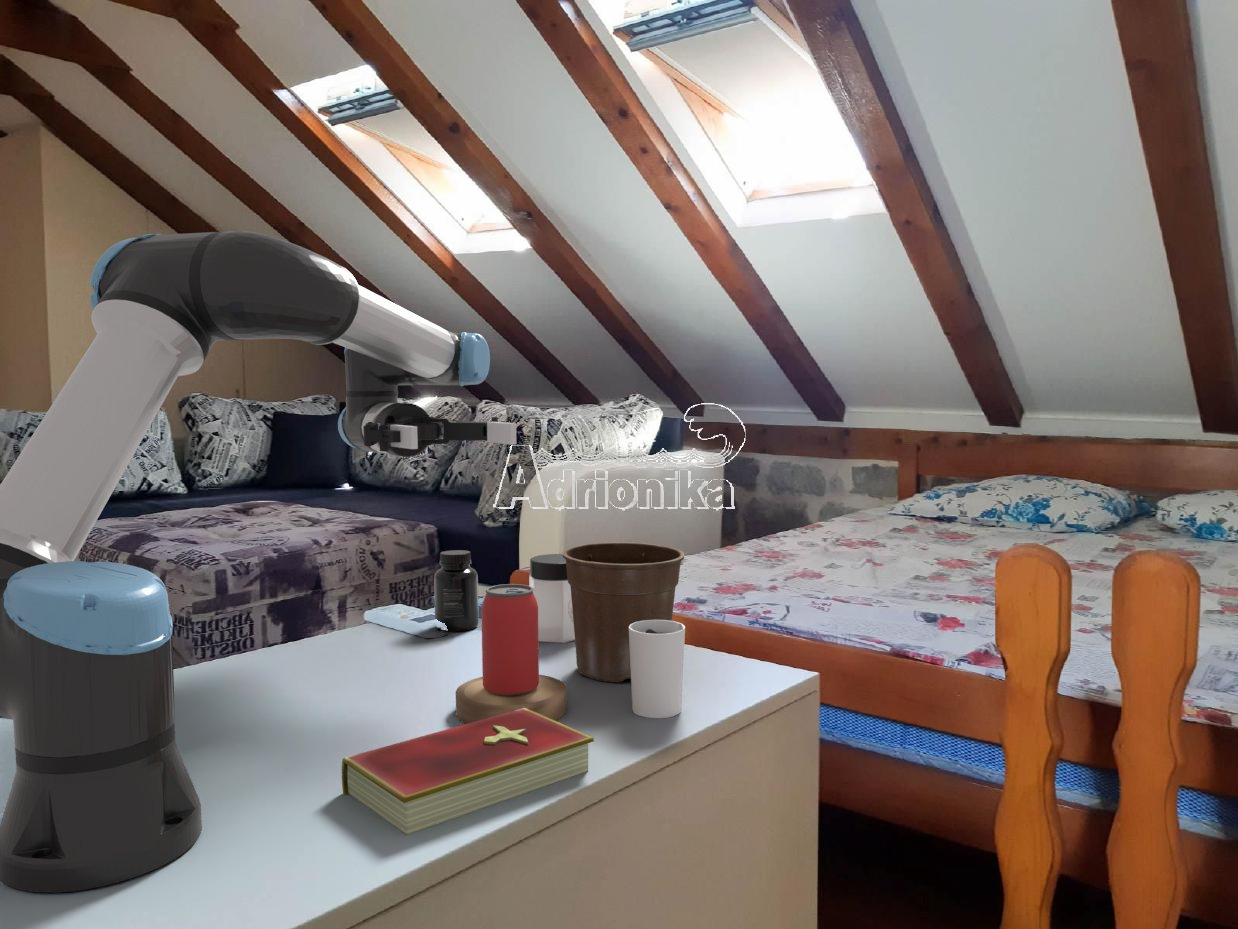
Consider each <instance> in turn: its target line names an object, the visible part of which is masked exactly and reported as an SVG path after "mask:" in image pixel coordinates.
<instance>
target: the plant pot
mask: <svg viewBox="0 0 1238 929" xmlns="http://www.w3.org/2000/svg"><path fill="white" fill-rule="evenodd" d="M561 554H562V556H563V558H564V559H566V567H567V578H568V583H569V584H570V587H571V598H572V610H573V622H574V634H575V640H574V644H575V646H574V647H575V657H576V666H577V669H578V672H579V673H580V674H581V675H583V676H585V677H588V678H590V679H593V680H596V681H600V682H609V683H622V682H623V681H625V680H631V667H630V646H629V626H630V624H632V623H635V622H638V621H644V620H668V621H673V615H674V614H673V612H674V603H675V595H676V587H677V586H678V584H679V578H680V572H681V562H682V561H683V560H684V559H685V553H684V551H682V550H681V549H678V548H675V547H672V546H667V545H660V544H655V543H646V542H645V543H643V542H596V543H595V542H594V543H587V544H585V543H584V544H579V545H575V546H572V547H567V548H566V549H564V550H563V551H562V553H561Z"/></svg>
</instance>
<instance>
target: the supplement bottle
mask: <svg viewBox="0 0 1238 929" xmlns="http://www.w3.org/2000/svg"><path fill="white" fill-rule="evenodd" d="M470 564H471V565H472V555H471V551H469V550H461V549H459V550H455V549H454V550H453V549H452V550H445V551H441V552H440V553H439V565H440V566H441V568H439V569H438V570H436V572H435V574H434V575H433V576H434V577H433V584H434V585H433V586H434V589H433V590H434V619H437V620H438V621H440V622H442V623H445V625H446V626H447V629H448V631H447V632H450V633H451V632H454V633H455V632H465V631H469V630H473V629H475V628H477V627H478V626H479V623H480V622H479V619H480V617H479V614H480V613H479V582H478V581H479V579H478V578H479V576H478V572H477V571H476V569H475V568H473V567H471V565H470Z"/></svg>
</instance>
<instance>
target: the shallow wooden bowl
mask: <svg viewBox="0 0 1238 929" xmlns="http://www.w3.org/2000/svg"><path fill="white" fill-rule="evenodd" d="M567 689H568V688H567V685H566V684H565V683H564V682H563V681H562V680H560V679H557V678H555V677H552V676H550V675H545V674H540V673H539V684H538V686H537V688H536V689H535V690H533V691H532V692H530V693H527V694H524V695H519V696H498V695H494V694H491V693H489V692H487V691H486V690H485V689H484V687H483V676H480V677H476V678H473V679H470V680H468V681H466V682H463V683H462V684H460V685H459V686H458V687H457V688H456V690H455V716H456V718H457V719H458V720H459V721H460V722H461V723H464V725H465V724H468V723H472V722H475V721H479V720H483V719H486V718H490V717H493V716H497V715H501V714H504V713H508V712H511V711H515V710H519V709H522V708H527V709H529V710H532V711H534V712H536V713H538V714H541V715H543V716H545V717H548V718H550V719H552V720H554V721H558V720H560V719H562V718H563V717H564V716H565V715H566V713H567V710H568V709H567V708H568V706H567V703H568V701H567V700H568V697H567V694H568V693H567Z"/></svg>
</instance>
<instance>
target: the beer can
mask: <svg viewBox="0 0 1238 929" xmlns="http://www.w3.org/2000/svg"><path fill="white" fill-rule="evenodd" d="M533 590H534V589H533V588H532V587H531V586H529V585H528V584H520V583H519V584H517V583H507V584H498V585H492V586H489V587H487V588H486V589H485V596H484V598H483V601H482V604H481V610H480V611H481V657H482V658H481V661H482V662H481V663H482V667H481V668H482V669H481V670H482V671H481V672H482V677H483V687H484V689H485V690H486V691H487V692H489V693H491V694H494V695H498V696H519V695H524V694H527V693H530V692H532V691H533V690H535V689H536V688H537V686H538V684H539V674H540V665H539V664H540V662H539V659H540V658H539V657H540V656H539V655H540V654H539V653H540V652H539V650H540V649H539V644H540V643H539V641H538V605H537V601H536V598H535V596H534V593H533Z"/></svg>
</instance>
